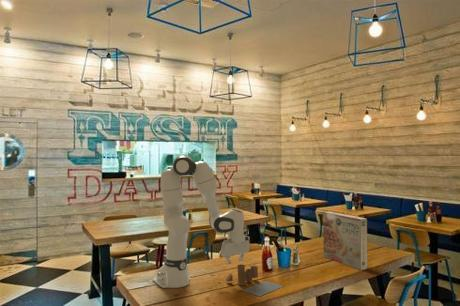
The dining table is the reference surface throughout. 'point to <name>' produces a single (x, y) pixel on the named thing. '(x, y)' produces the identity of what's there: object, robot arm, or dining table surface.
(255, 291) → the mat
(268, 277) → the dining table surface
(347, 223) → the pizza box
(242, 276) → the wooden block set
